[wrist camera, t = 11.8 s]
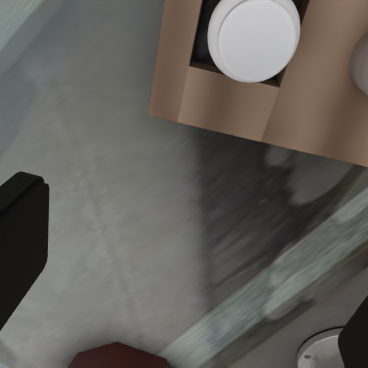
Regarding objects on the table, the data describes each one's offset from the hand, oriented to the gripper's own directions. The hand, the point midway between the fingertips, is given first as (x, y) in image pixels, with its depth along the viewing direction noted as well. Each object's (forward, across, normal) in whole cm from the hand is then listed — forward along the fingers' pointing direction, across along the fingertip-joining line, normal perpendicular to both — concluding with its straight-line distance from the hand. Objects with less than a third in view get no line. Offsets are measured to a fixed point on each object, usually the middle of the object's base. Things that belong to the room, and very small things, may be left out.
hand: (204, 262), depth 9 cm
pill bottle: (+22, -1, -5) cm, 22 cm away
